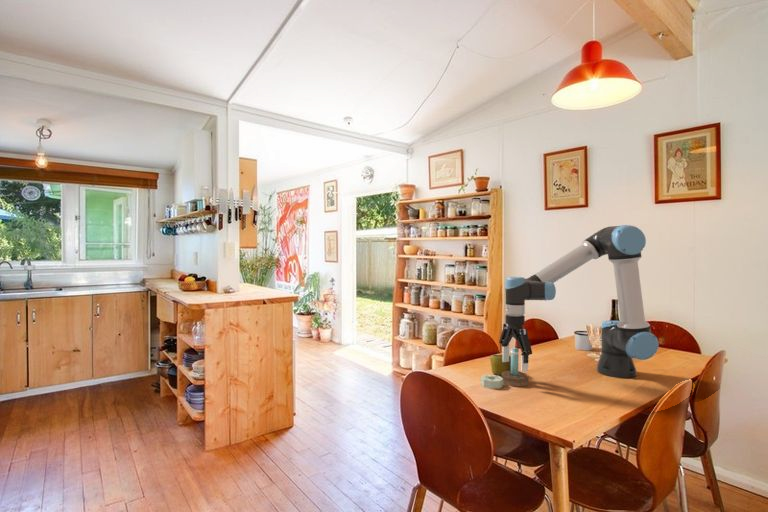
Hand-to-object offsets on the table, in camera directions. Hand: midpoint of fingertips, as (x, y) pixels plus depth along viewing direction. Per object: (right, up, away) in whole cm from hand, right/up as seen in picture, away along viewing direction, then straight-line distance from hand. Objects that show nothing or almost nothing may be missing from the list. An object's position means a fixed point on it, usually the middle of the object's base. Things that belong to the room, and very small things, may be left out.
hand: (514, 366), depth 166 cm
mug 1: (-2, -7, +13) cm, 15 cm away
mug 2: (+56, -6, +55) cm, 79 cm away
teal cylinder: (0, -7, 0) cm, 7 cm away
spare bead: (-10, -7, -3) cm, 13 cm away
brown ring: (0, -7, 0) cm, 7 cm away
